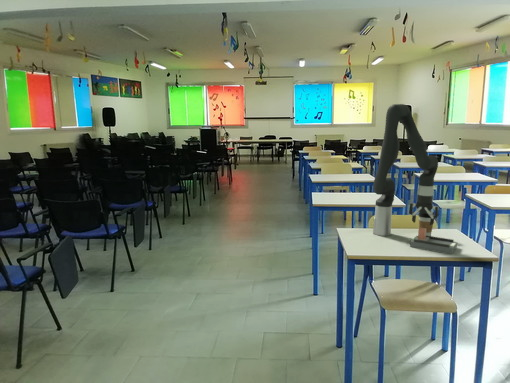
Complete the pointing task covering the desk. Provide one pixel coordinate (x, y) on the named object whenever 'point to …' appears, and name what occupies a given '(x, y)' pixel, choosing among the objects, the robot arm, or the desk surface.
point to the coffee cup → (425, 222)
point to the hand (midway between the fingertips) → (422, 223)
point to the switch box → (435, 244)
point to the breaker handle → (422, 234)
